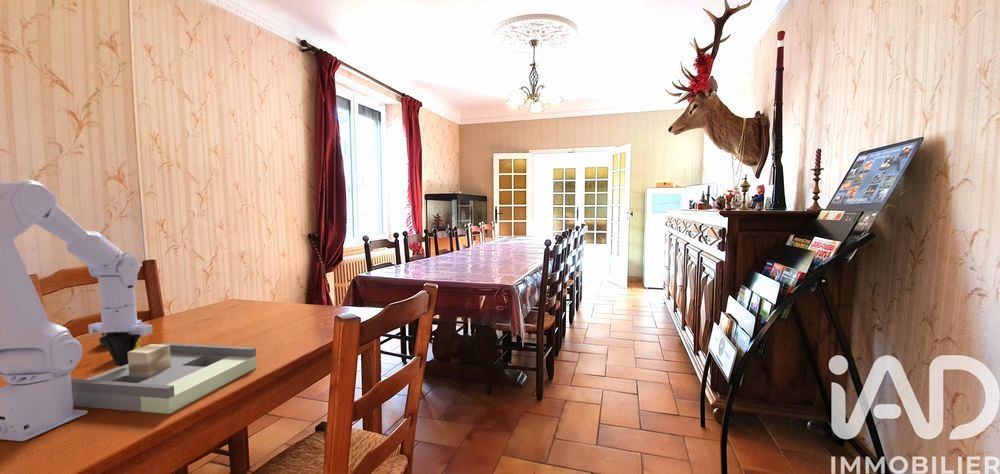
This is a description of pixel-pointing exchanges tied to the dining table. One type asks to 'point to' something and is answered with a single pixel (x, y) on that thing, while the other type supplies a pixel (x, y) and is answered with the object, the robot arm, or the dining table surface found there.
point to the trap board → (166, 380)
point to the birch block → (149, 359)
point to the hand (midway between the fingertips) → (123, 364)
